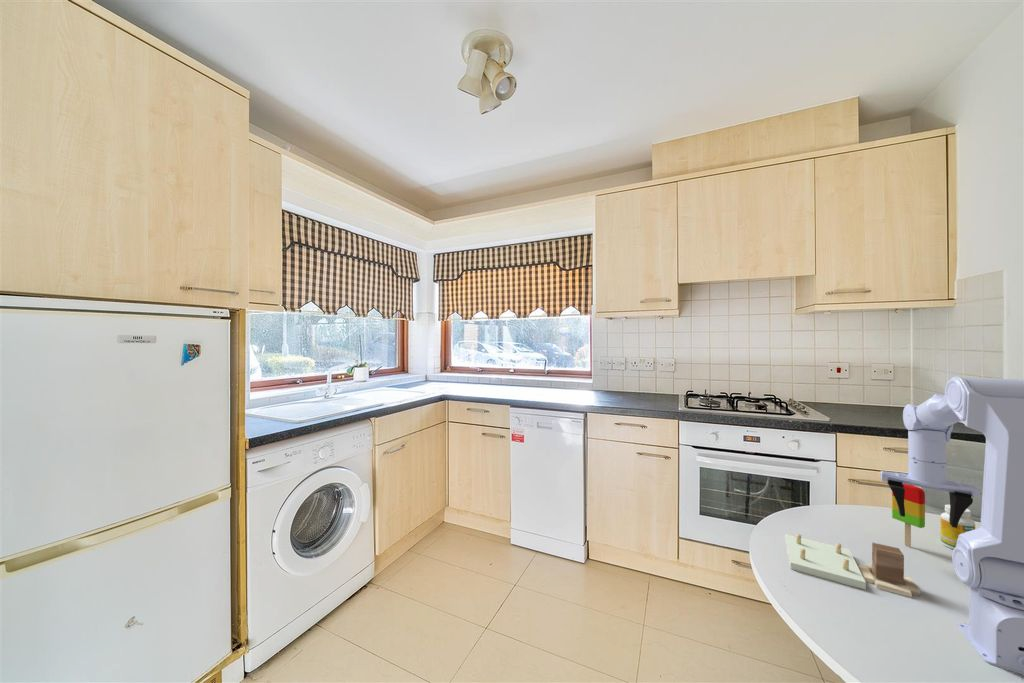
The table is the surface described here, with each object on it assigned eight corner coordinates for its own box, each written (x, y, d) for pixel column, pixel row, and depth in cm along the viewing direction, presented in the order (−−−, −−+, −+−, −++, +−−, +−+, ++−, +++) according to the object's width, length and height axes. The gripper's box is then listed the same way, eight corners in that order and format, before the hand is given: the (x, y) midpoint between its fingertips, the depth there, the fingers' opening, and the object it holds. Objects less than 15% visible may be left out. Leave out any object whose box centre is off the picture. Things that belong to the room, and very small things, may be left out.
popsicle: (890, 540, 91) (891, 480, 91) (895, 539, 91) (896, 480, 91) (920, 553, 86) (921, 489, 86) (925, 552, 86) (926, 488, 86)
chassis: (865, 589, 73) (865, 572, 73) (790, 569, 79) (790, 553, 79) (849, 555, 85) (849, 540, 85) (784, 540, 91) (784, 526, 91)
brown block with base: (923, 601, 70) (923, 565, 70) (866, 586, 74) (866, 551, 74) (907, 578, 77) (907, 545, 77) (856, 565, 81) (856, 534, 81)
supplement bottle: (949, 540, 91) (950, 502, 91) (981, 552, 86) (981, 511, 86) (934, 542, 90) (934, 504, 90) (965, 555, 85) (965, 514, 85)
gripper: (972, 462, 80) (972, 524, 80) (879, 449, 89) (878, 504, 89) (983, 470, 75) (983, 536, 75) (882, 456, 84) (882, 514, 84)
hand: (926, 520), depth 82 cm, fingers open, 7 cm apart
